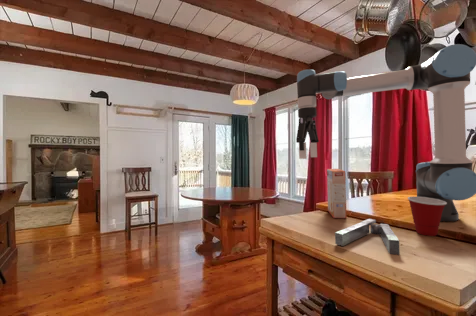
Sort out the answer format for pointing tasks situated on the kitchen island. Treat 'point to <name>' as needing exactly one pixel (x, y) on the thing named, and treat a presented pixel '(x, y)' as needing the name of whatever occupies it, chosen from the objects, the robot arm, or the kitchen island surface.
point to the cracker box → (336, 192)
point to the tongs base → (387, 237)
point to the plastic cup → (426, 214)
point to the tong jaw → (353, 232)
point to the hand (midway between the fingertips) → (308, 158)
